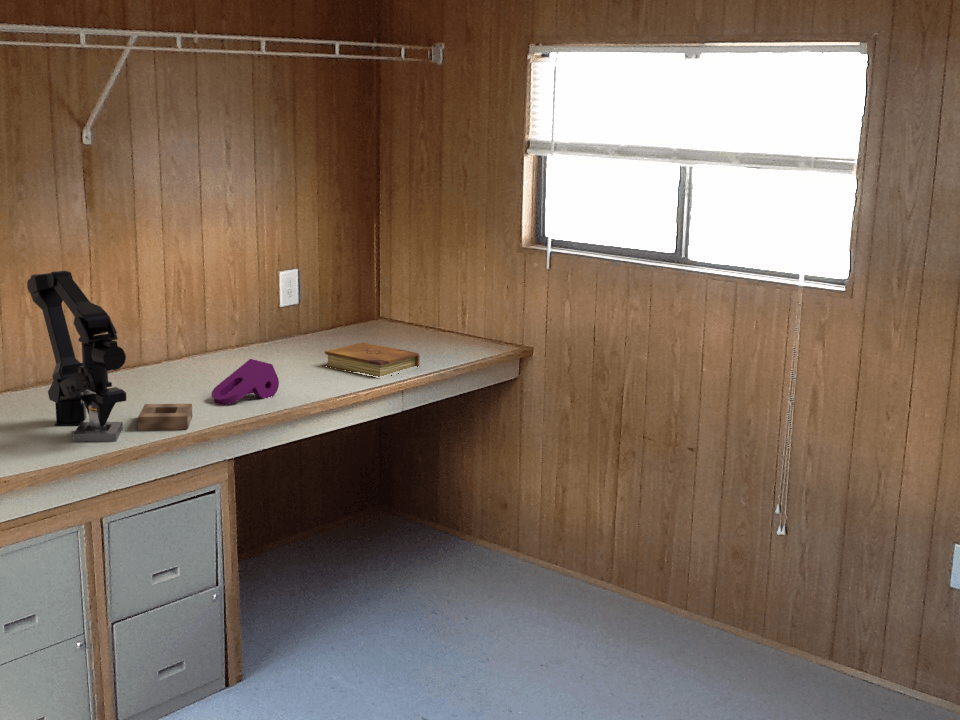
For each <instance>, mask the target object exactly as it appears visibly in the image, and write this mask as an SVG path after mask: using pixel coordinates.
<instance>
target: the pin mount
mask: <svg viewBox="0 0 960 720" xmlns="http://www.w3.org/2000/svg"><path fill="white" fill-rule="evenodd" d="M123 423H124V422H123V421H107V431H90V424H89V422H88V421H87V422H81V423H80V425H77V427H76V429H75V430H74V432H73V434H72V438H73V439H72V441H73V443H80V442H81V443H88V442H89V443H90V442H91V441H92V442H93V443H95V442H97V443H98V442H117V440H118V439H119V437H120V436H121V434H120V433H122V432H121V431H124V428H123V425H124V424H123ZM85 441H87V442H85ZM92 442H91V443H92Z"/></svg>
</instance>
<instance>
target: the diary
mask: <svg viewBox="0 0 960 720" xmlns="http://www.w3.org/2000/svg"><path fill="white" fill-rule="evenodd" d="M324 355H327V364H325V366H327V367H331V368H336V369H341V370H346V371H351V372H360V373H365V374H369V375H373V376H378V377H380V376H384V375H387V374H390V373H393V372H396V371H400V370H403V369H407V368H410V367H414V366H417V367H418V366H419V367H420V359H421V358H420V354H419V353H418V352H414V351H409V350H404V349H399V348H395V347H389V346H384V345H380V344H379V345H378V344H373V343H369V342H358V343H354V344H350V345H349V344H348V345H346V346H342V347H338V348H333V349H329V350H328V349H327V350H325V351H324ZM327 367H326V368H327ZM331 368H330V369H331ZM336 369H335V370H336ZM341 370H340V371H341Z"/></svg>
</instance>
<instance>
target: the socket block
mask: <svg viewBox="0 0 960 720" xmlns="http://www.w3.org/2000/svg"><path fill="white" fill-rule="evenodd" d="M192 419H193V403H145V404H144V405H143V407H142V408H141V410H140V412H139V414H138V416H137V424H138V431H180V430H179V429H189V426H190V424H191V422H192ZM177 429H178V430H177Z"/></svg>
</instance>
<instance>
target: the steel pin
mask: <svg viewBox="0 0 960 720" xmlns="http://www.w3.org/2000/svg"><path fill="white" fill-rule="evenodd" d="M88 409H89V414H88V419H89V420H88V421H89V424H90V431H107V422H108V421H107V422H106V424H105V425H104V426H100V423H99V418H98V412H97V407H96V405H94V404H93V403H90V404H89V406H88Z"/></svg>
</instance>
